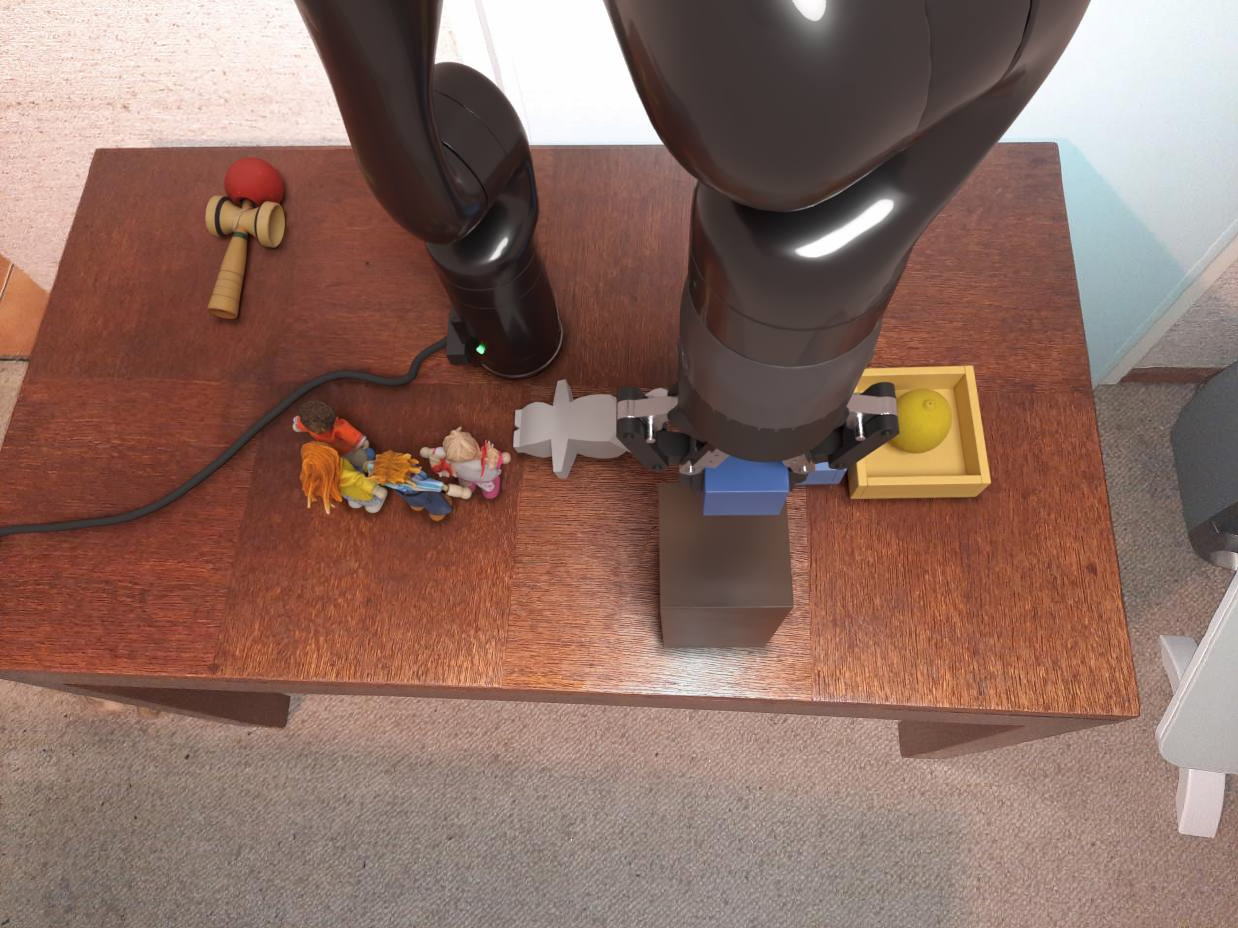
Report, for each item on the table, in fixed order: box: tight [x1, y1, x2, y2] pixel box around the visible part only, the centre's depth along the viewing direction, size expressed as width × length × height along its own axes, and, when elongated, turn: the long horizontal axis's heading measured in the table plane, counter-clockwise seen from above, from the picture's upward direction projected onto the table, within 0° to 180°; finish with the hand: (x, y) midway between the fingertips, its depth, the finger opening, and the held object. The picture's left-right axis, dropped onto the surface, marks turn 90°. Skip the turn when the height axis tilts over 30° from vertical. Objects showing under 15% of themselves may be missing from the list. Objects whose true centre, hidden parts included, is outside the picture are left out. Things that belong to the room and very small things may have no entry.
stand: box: [657, 482, 795, 649], centre depth 69 cm, size 9×9×20 cm
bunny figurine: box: [512, 378, 669, 480], centre depth 82 cm, size 10×5×15 cm
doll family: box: [292, 399, 512, 522], centre depth 77 cm, size 21×10×13 cm, turn 77°
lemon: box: [891, 388, 952, 454], centre depth 78 cm, size 6×6×8 cm
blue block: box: [702, 456, 790, 515], centre depth 49 cm, size 4×4×4 cm
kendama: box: [204, 156, 286, 320], centre depth 92 cm, size 8×6×18 cm
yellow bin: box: [846, 365, 992, 500], centre depth 80 cm, size 12×12×4 cm
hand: (739, 475), depth 50 cm, fingers closed on blue block, 4 cm apart
